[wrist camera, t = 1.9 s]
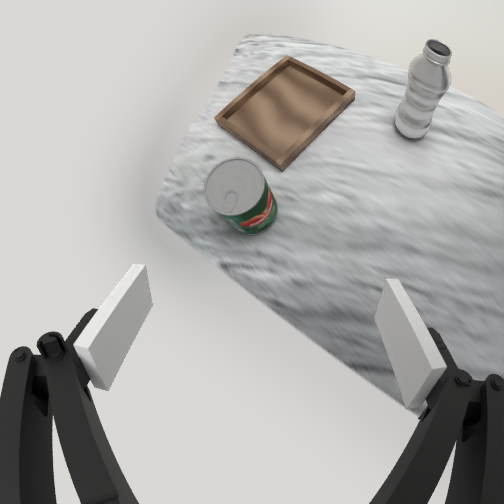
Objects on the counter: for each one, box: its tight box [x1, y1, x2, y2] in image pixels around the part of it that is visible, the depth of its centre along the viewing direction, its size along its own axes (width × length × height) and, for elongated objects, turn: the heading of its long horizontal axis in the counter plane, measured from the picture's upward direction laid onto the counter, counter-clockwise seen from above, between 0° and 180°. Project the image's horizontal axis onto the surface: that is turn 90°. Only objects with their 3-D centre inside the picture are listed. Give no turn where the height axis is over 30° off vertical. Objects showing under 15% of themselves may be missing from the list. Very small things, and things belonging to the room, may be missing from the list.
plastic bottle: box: [395, 39, 452, 138], centre depth 33 cm, size 6×7×20 cm
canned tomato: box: [204, 157, 278, 235], centre depth 41 cm, size 8×8×11 cm
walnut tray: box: [214, 56, 355, 172], centre depth 47 cm, size 20×16×2 cm
